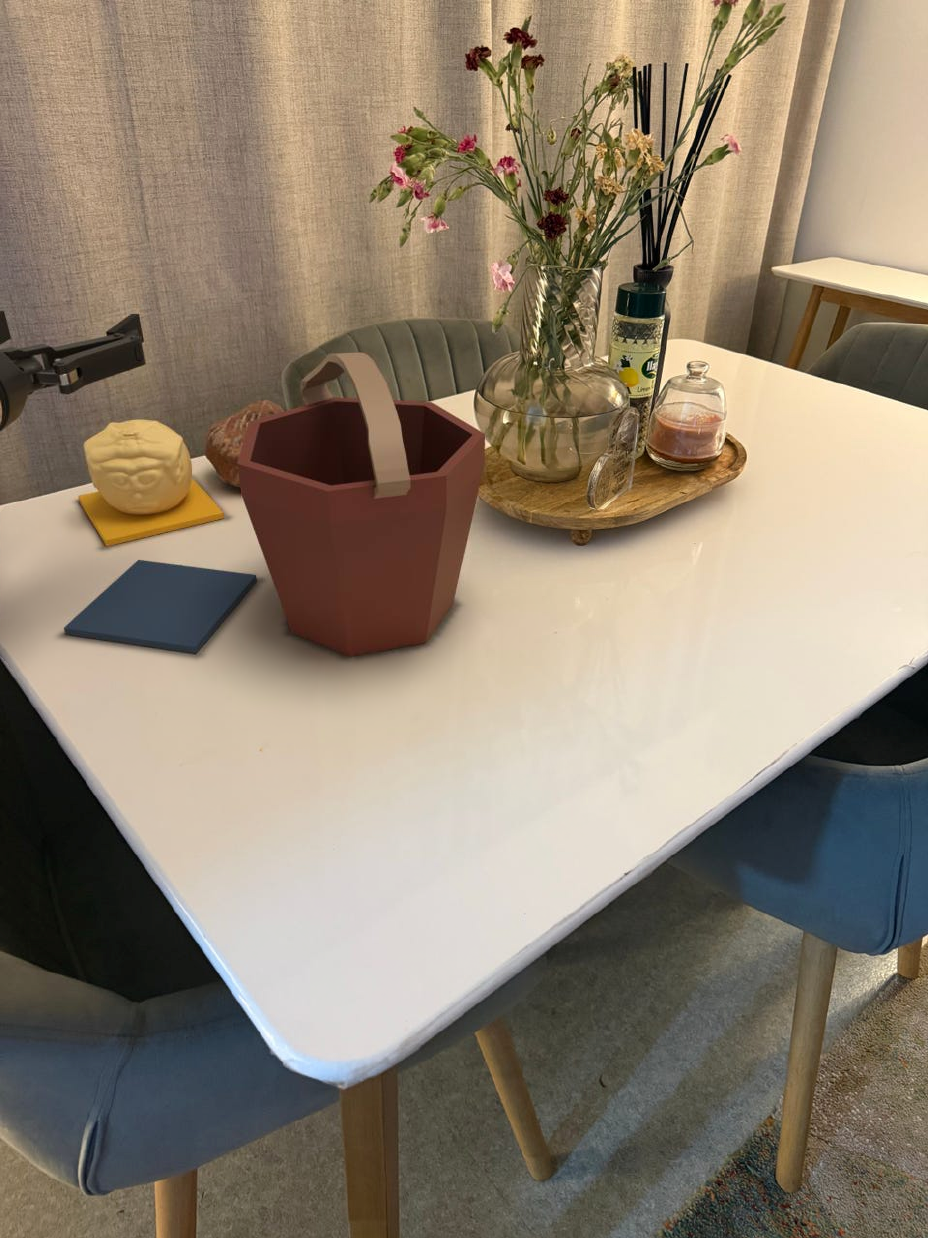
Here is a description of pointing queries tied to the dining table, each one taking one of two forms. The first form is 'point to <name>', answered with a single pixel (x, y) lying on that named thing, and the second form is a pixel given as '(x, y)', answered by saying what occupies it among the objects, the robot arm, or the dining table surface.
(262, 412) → the decorative rock
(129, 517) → the yellow mat
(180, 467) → the sculpture
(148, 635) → the blue mat
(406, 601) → the bucket
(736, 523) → the dining table surface
